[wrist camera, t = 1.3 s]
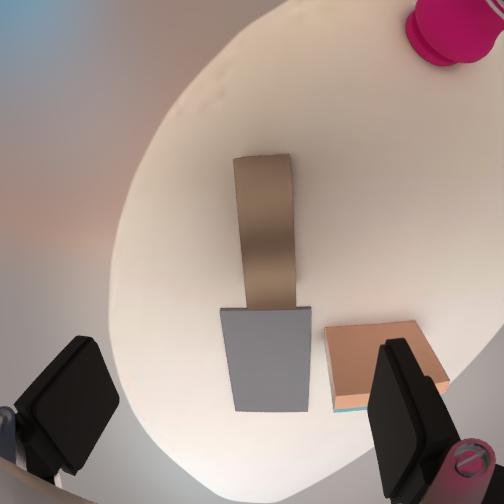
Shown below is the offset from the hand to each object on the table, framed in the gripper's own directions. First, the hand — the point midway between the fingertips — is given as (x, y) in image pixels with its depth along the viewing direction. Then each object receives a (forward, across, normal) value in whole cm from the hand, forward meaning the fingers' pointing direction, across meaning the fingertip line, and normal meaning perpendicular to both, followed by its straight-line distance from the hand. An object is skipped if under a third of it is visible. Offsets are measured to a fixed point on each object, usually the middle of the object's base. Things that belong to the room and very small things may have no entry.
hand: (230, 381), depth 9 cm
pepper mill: (+20, -17, -18) cm, 32 cm away
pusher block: (+20, 0, 0) cm, 20 cm away
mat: (+20, +1, +16) cm, 25 cm away
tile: (+20, -10, +12) cm, 25 cm away
